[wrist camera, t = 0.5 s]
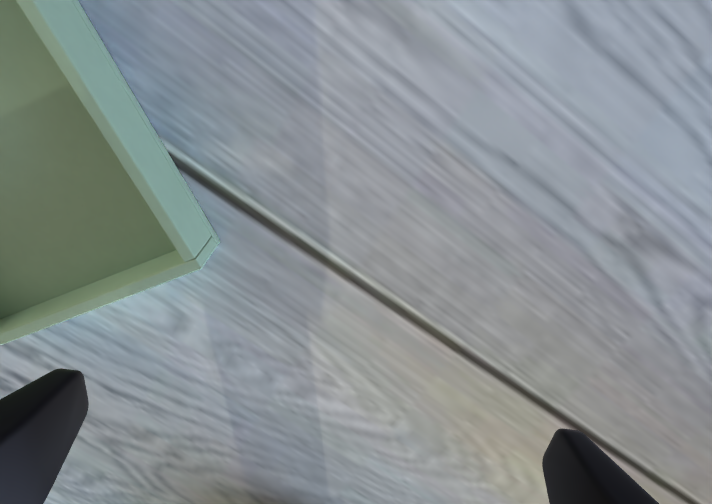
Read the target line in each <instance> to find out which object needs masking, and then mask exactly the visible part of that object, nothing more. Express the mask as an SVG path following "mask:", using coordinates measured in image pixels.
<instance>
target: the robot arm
mask: <svg viewBox="0 0 712 504" xmlns="http://www.w3.org/2000/svg"><path fill="white" fill-rule="evenodd" d="M88 405H89V403H88V396H87V391H86V385H85V380H84V376H83V374H82V373H81V372H80V371H77V370H69V369H56V370H53V371H51V372H50V373H48V374H46V375H44V376H42V377H40V378H39V379H37V380H35V381H33V382H31V383H30V384H28V385H26V386H24V387H22V388H21V389H19V390H17V391H15V392H13V393H11V394H10V395H8V396H6V397H4V398H2V399H1V400H0V504H43V503H44V501H45V499H46V498H47V496H48V494H49V492H50V490H51V488H52V486H53V484H54V482H55V480H56V478H57V475H58V473H59V471H60V469H61V467H62V465H63V463H64V461H65V459H66V457H67V455H68V453H69V450H70V448H71V446H72V444H73V442H74V440H75V438H76V436H77V434H78V432H79V430H80V427H81V425H82V423H83V421H84V419H85V417H86V415H87V411H88ZM542 464H543V472H544V477H545V482H546V487H547V493H548V498H549V503H550V504H659V503H658V502H657V501H656V500H655V499H653V498H652V497H651V496H650V495H649V494H648V493H647V492H646V491H645V490H644V489H643V488H642V487H641V486H639V485H638V484H637V483H636V482H635V481H634V480H633V479H632V478H631V477H630V476H629V475H628V474H627V473H626V472H624V471H623V470H622V469H621V468H620V467H619V466H618V465H617V464H616V463H615V462H614V461H613V460H612V459H610V458H609V457H608V456H607V455H606V454H605V453H604V452H603V451H602V450H601V449H600V448H599V447H598V446H597V445H595V444H594V443H593V442H592V441H591V440H590V439H589V438H588V437H587V436H586V435H585V434H583V433H582V432H580V431H578V430H570V429H558V430H557V431H556V432H555V434H554V436H553V438H552V440H551V442H550V444H549V446H548V448H547V450H546V452H545V454H544V456H543V463H542Z"/></svg>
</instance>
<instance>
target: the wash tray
mask: <svg viewBox="0 0 712 504" xmlns="http://www.w3.org/2000/svg"><path fill="white" fill-rule="evenodd" d="M219 243H220V240H219V238H218V236H217V235H216V233H215V231H214V230H213V228H212V226H211V224H210V223H209V221H208V219H207V218H206V216H205V214H204V213H203V211H202V209H201V208H200V206H199V204H198V203H197V201H196V199H195V197H194V196H193V194H192V192H191V191H190V189H189V187H188V186H187V184H186V182H185V181H184V179H183V177H182V176H181V174H180V172H179V170H178V169H177V167H176V165H175V164H174V162H173V160H172V159H171V157H170V155H169V154H168V152H167V150H166V148H165V147H164V145H163V143H162V142H161V140H160V138H159V137H158V135H157V133H156V132H155V130H154V128H153V127H152V125H151V123H150V121H149V120H148V118H147V116H146V115H145V113H144V111H143V110H142V108H141V106H140V105H139V103H138V101H137V99H136V98H135V96H134V94H133V93H132V91H131V89H130V88H129V86H128V84H127V83H126V81H125V79H124V78H123V76H122V74H121V72H120V71H119V69H118V67H117V66H116V64H115V62H114V61H113V59H112V57H111V56H110V54H109V52H108V50H107V49H106V47H105V45H104V44H103V42H102V40H101V39H100V37H99V35H98V34H97V32H96V30H95V29H94V27H93V25H92V23H91V22H90V20H89V18H88V17H87V15H86V13H85V12H84V10H83V8H82V7H81V5H80V3H79V1H78V0H0V345H3V344H5V343H8V342H10V341H13V340H16V339H18V338H21V337H24V336H26V335H29V334H32V333H34V332H37V331H39V330H42V329H45V328H47V327H50V326H53V325H55V324H58V323H61V322H63V321H66V320H68V319H71V318H74V317H76V316H79V315H82V314H84V313H87V312H90V311H92V310H95V309H97V308H100V307H103V306H105V305H108V304H111V303H113V302H116V301H119V300H121V299H124V298H126V297H129V296H132V295H134V294H137V293H140V292H142V291H145V290H148V289H150V288H153V287H155V286H158V285H161V284H163V283H166V282H169V281H171V280H174V279H176V278H179V277H182V276H184V275H187V274H190V273H192V272H195V271H198V270H200V269H202V268H203V266H204V265H205V263H206V262H207V260H208V259H209V258H210V256H211V255H212V253H213V252H214V250H215V249H216V247H217V246H218V245H219Z"/></svg>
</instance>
